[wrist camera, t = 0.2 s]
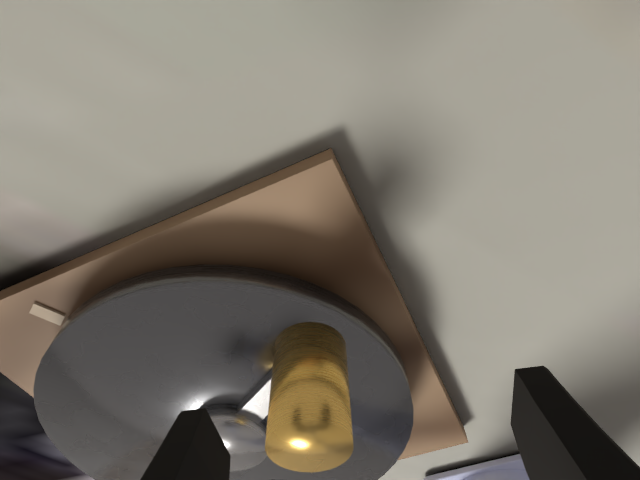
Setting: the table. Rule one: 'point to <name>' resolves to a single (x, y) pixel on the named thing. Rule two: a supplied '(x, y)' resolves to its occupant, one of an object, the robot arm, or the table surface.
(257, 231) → the base plate
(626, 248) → the table surface
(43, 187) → the table surface
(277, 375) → the handwheel
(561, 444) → the robot arm
